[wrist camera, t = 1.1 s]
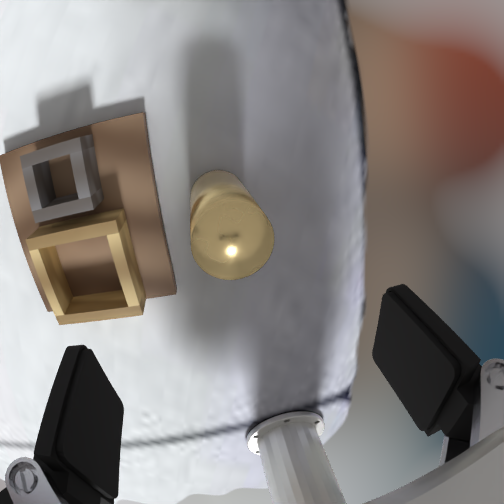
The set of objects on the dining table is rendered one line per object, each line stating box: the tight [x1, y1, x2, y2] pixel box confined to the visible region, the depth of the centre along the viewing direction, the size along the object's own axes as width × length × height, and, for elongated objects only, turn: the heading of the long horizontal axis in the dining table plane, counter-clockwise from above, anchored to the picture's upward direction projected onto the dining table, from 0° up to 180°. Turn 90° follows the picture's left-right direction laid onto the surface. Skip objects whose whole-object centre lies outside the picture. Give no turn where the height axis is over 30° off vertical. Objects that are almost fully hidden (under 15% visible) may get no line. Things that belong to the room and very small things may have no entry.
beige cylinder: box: [190, 170, 274, 280], centre depth 21 cm, size 5×5×10 cm
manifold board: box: [0, 112, 177, 325], centre depth 22 cm, size 16×14×4 cm
